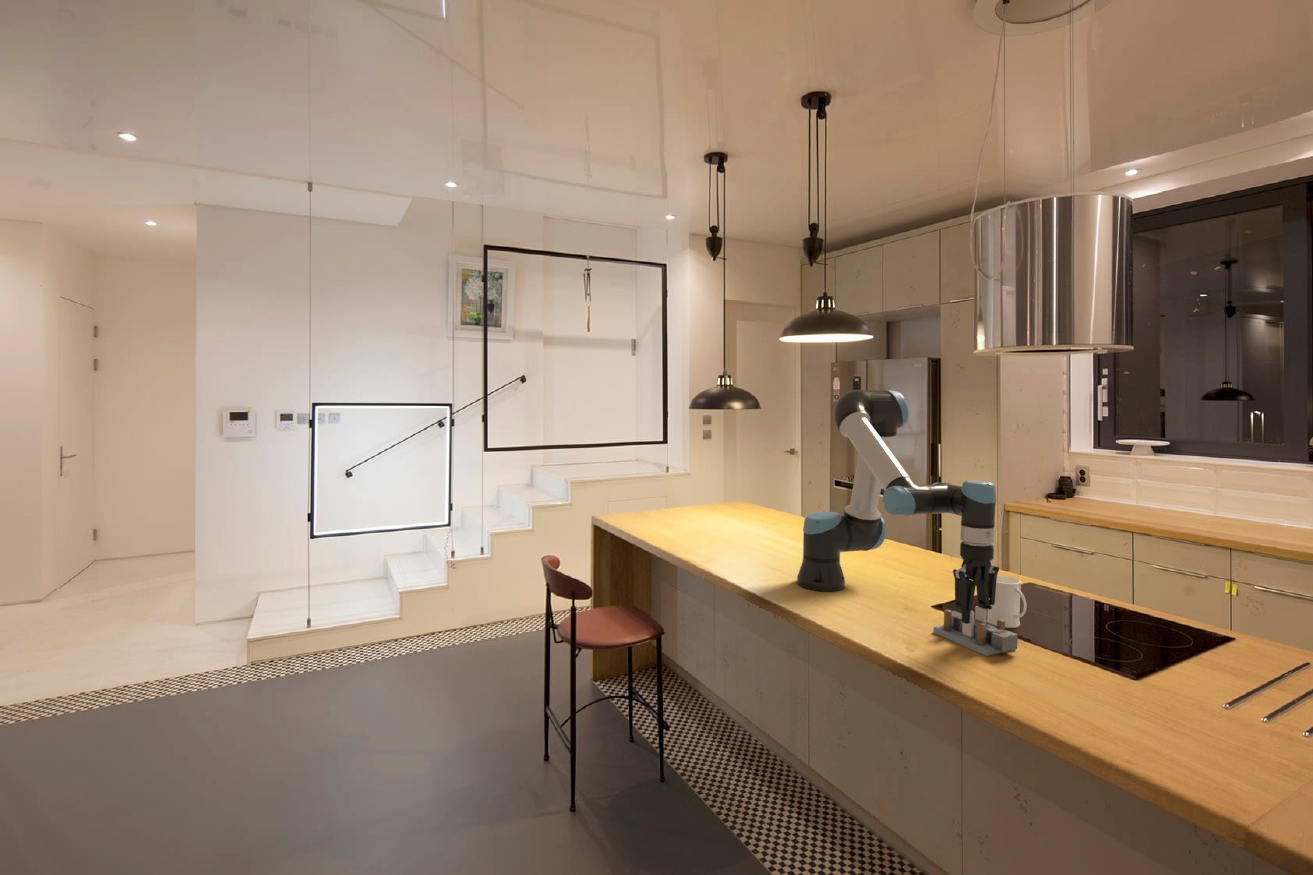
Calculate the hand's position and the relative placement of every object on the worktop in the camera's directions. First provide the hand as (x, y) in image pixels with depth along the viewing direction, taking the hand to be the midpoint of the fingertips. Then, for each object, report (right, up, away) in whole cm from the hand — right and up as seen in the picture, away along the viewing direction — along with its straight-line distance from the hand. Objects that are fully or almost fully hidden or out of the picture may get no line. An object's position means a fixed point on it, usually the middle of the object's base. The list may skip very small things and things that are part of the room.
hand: (974, 634), depth 159 cm
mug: (+15, -1, +12) cm, 19 cm away
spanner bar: (0, 0, 0) cm, 0 cm away
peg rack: (0, -2, 0) cm, 2 cm away
